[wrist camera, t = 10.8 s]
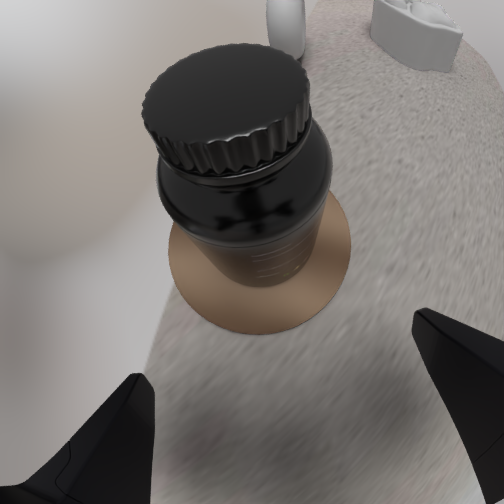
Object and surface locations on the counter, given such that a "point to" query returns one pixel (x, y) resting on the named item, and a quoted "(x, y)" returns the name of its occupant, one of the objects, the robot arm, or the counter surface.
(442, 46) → the lumpy-topped squat cylinder
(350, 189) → the counter surface
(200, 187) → the supplement bottle
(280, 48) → the donut
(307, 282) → the walnut trivet
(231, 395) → the counter surface
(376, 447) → the counter surface
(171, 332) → the counter surface
